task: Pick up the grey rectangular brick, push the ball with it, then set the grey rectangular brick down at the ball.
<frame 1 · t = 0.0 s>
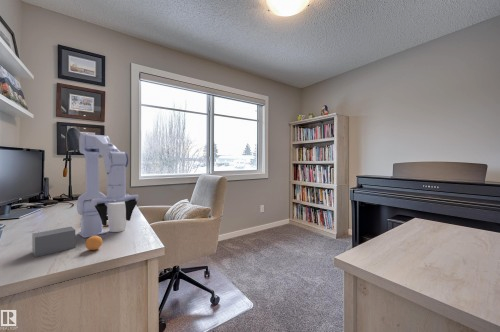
hand: (116, 222, 76), 10 cm above the table, tool pointing down, fingers open, 7 cm apart
grey rectangular brick: (54, 249, 76), on the table
foam cup: (117, 230, 99), on the table, touching arm
ball: (94, 242, 77), on the table
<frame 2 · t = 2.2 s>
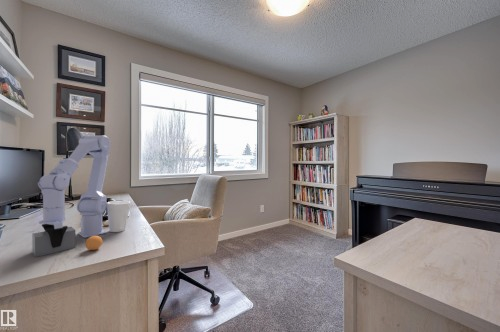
hand: (54, 244, 76), 2 cm above the table, tool pointing down, fingers closed on grey rectangular brick, 6 cm apart
grey rectangular brick: (54, 249, 76), on the table, touching gripper
everything else where it was.
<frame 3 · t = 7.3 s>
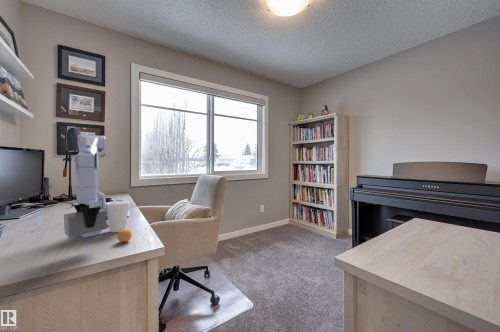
hand: (87, 225, 75), 9 cm above the table, tool pointing down, fingers closed on grey rectangular brick, 6 cm apart
grey rectangular brick: (86, 231, 75), point 7 cm above the table, touching gripper
ball: (124, 235, 84), on the table
everything else where it was.
when the fingers open (2 cm above the table, at t = 11.6 s): grey rectangular brick stays where it is, on the table.
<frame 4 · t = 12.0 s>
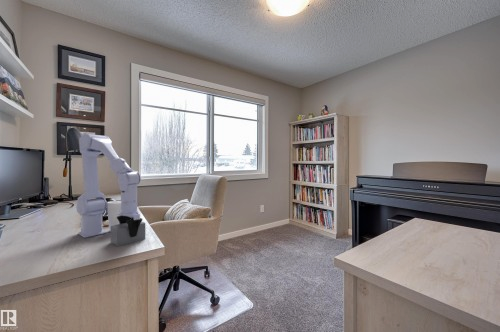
hand: (129, 234, 86), 2 cm above the table, tool pointing down, fingers open, 7 cm apart
grey rectangular brick: (128, 240, 86), on the table
everything else where it was.
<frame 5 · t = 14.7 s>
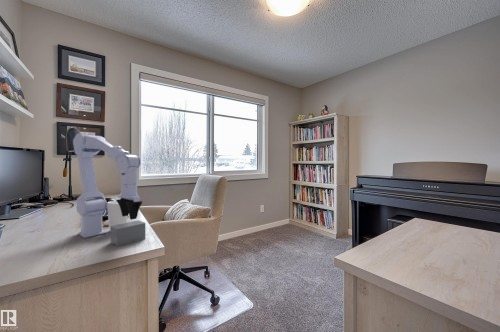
hand: (129, 217, 86), 9 cm above the table, tool pointing down, fingers open, 7 cm apart
nothing on the table moved.
at the end: ball 1.6 cm from the grey rectangular brick (horizontally); grey rectangular brick on the table; ball moved 10.1 cm from its start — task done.
